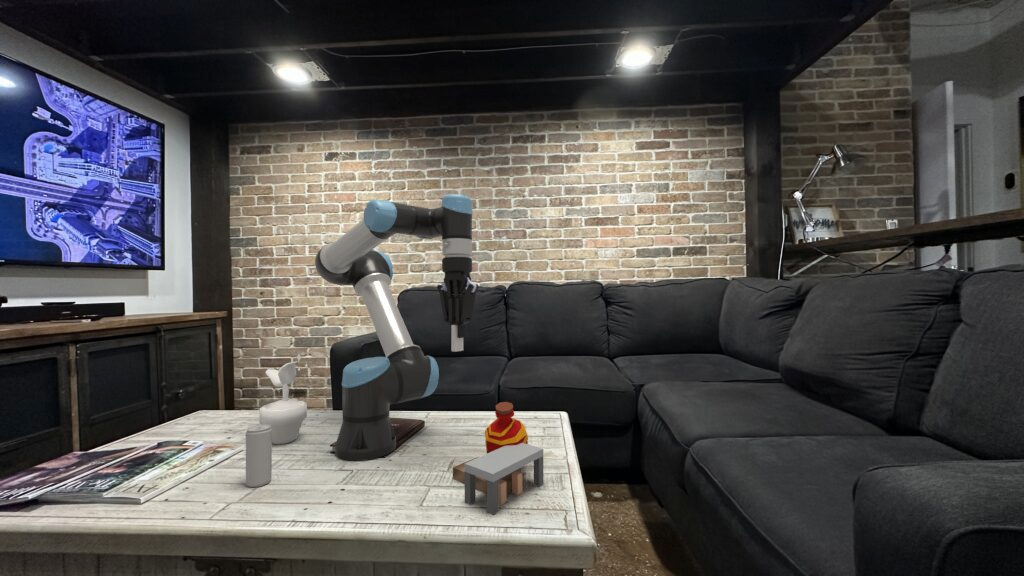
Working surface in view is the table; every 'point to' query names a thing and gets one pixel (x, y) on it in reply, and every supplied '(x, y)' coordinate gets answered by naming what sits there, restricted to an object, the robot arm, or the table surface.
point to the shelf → (502, 472)
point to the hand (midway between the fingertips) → (457, 350)
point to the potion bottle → (504, 429)
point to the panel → (482, 483)
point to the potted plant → (284, 406)
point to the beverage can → (258, 455)
